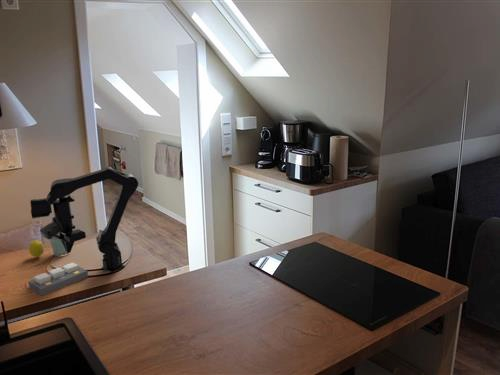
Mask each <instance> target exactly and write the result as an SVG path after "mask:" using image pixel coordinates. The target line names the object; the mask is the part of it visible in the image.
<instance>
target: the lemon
mask: <svg viewBox="0 0 500 375" xmlns="http://www.w3.org/2000/svg"><path fill="white" fill-rule="evenodd" d="M28 250H29V254H30V255H31V256H32V257H36V258H40V257H41V256H42V255H43V253H44V250H45V246H44V245H43V243H42V242H41V241H40V240H36V239H34V240H32V241H31V243H30V244H29V247H28Z"/></svg>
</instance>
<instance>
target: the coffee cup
mask: <svg viewBox="0 0 500 375" xmlns="http://www.w3.org/2000/svg"><path fill="white" fill-rule="evenodd" d="M49 241H50V244H51V248H52V251H53V255H54V257H56V256H61V255H65V254H68V253H67V252H66V250H65V248H64V246H63V244H62V242H61V240H60V239H58V238H56V237H55V236H54V237H53V238H51V239H49ZM68 255H69V254H68Z"/></svg>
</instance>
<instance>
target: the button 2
mask: <svg viewBox="0 0 500 375" xmlns="http://www.w3.org/2000/svg"><path fill="white" fill-rule="evenodd" d="M78 266H79V265H78V264H76V263H74V262H70V263H68V264H65V265H63V266H62V268H63V270H64V271H65V272H67V273H68V274H69V273H71V272H74V271H77V270H78Z"/></svg>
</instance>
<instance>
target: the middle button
mask: <svg viewBox="0 0 500 375" xmlns="http://www.w3.org/2000/svg"><path fill="white" fill-rule="evenodd" d="M48 274H49V275H50V277H52V278H54V279H56V278H59V277H61V276H64V275H65V272H64V270H63V269H62V268H61V267H57V268H54V269H51V270H48Z"/></svg>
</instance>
